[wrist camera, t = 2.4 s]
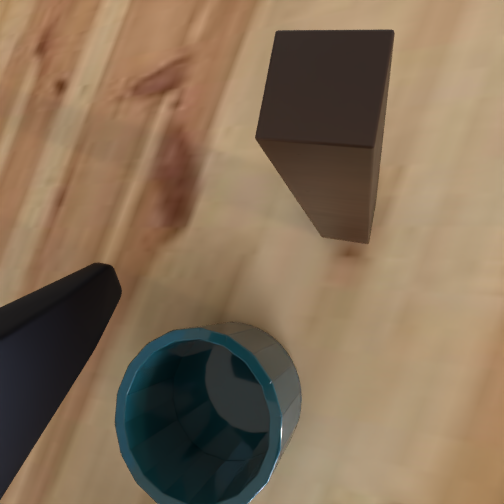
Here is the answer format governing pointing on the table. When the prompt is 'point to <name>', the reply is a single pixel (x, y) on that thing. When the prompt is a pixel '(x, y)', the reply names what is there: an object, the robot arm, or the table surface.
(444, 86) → the table surface
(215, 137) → the table surface
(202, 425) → the coffee cup
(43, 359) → the robot arm
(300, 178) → the brown square bar
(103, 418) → the table surface
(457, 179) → the table surface
